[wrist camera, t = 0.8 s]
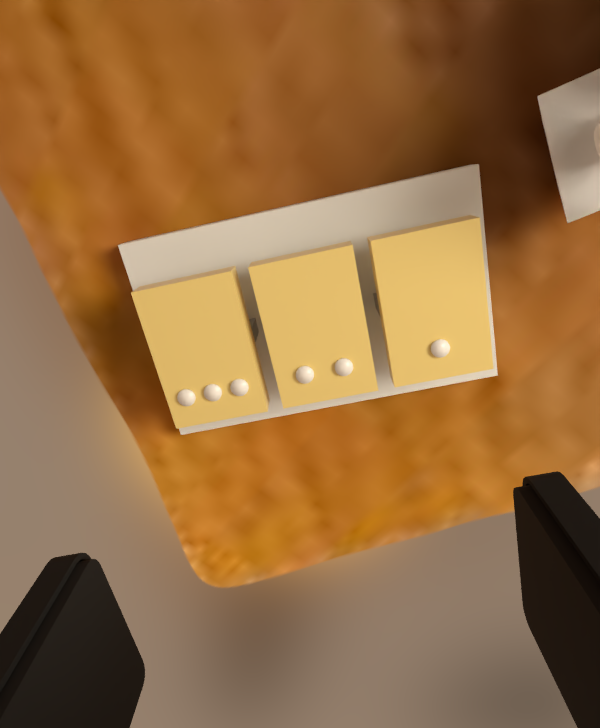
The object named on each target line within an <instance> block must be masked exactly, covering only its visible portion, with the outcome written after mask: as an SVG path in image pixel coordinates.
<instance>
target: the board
mask: <svg viewBox="0 0 600 728" xmlns="http://www.w3.org/2000/svg"><path fill="white" fill-rule="evenodd" d="M467 215H473V216H476V217H480V225H481V236H482V247H483V258H484V269H485V280H486V291H487V302H488V313H489V324H490V335H491V345H492V356H493V367H494V369H490V370H485V371H480V372H474V373H469V374H464V375H458V376H453V377H448V378H443V379H437V380H432V381H427V382H421V383H416V384H411V385H406V386H400V387H394V385H393V382H392V380H391V377H390V372H389V366H388V360H387V354H386V348H385V342H384V336H383V330H382V324H381V318H380V312H379V306H378V300H377V294H376V288H375V282H374V276H373V270H372V264H371V258H370V252H369V246H368V240H367V237H370V236H375V235H379V234H384V233H388V232H393V231H398V230H402V229H407V228H412V227H416V226H421V225H425V224H430V223H435V222H439V221H444V220H449V219H453V218H458V217H462V216H467ZM347 241H351V243H352V245H353V250H354V255H355V261H356V266H357V272H358V278H359V283H360V289H361V295H362V300H363V306H364V312H365V317H366V323H367V329H368V334H369V340H370V346H371V351H372V357H373V362H374V368H375V374H376V379H377V385H378V391H374V392H368V393H363V394H358V395H353V396H347V397H342V398H337V399H331V400H326V401H321V402H316V403H310V404H305V405H300V406H294V407H289V408H284V409H283V405H282V401H281V397H280V393H279V389H278V385H277V381H276V377H275V373H274V369H273V365H272V361H271V357H270V353H269V349H268V345H267V341H266V337H265V333H264V329H263V325H262V321H261V317H260V313H259V309H258V305H257V301H256V297H255V293H254V289H253V285H252V281H251V277H250V273H249V269H248V267H249V265H250V264H251V262H255V261H259V260H264V259H268V258H273V257H278V256H282V255H287V254H291V253H296V252H301V251H305V250H310V249H315V248H319V247H324V246H328V245H333V244H338V243H342V242H347ZM118 247H119V250H120V253H121V256H122V259H123V262H124V265H125V268H126V271H127V274H128V277H129V280H130V283H131V286H132V289H133V291H134V290H135V289H137V288H138V287H140V286H144V285H148V284H153V283H158V282H162V281H167V280H171V279H176V278H181V277H185V276H190V275H194V274H199V273H204V272H208V271H213V270H218V269H222V268H227V267H231V266H235V267H236V271H237V274H238V278H239V282H240V286H241V290H242V294H243V298H244V301H245V305H246V309H247V313H248V317H249V321H250V325H251V329H252V332H253V336H254V340H255V344H256V348H257V352H258V356H259V359H260V363H261V367H262V371H263V375H264V379H265V383H266V387H267V390H268V394H269V398H270V402H269V408H268V412H263V413H257V414H252V415H247V416H242V417H236V418H231V419H226V420H220V421H215V422H210V423H205V424H199V425H194V426H189V427H183V428H179V430H180V433H181V435H183V434H188V433H194V432H199V431H204V430H209V429H215V428H220V427H225V426H231V425H236V424H241V423H247V422H252V421H257V420H263V419H268V418H273V417H279V416H284V415H289V414H295V413H300V412H305V411H311V410H316V409H321V408H327V407H332V406H337V405H343V404H348V403H353V402H359V401H364V400H369V399H375V398H380V397H385V396H391V395H396V394H401V393H406V392H412V391H417V390H422V389H428V388H433V387H438V386H444V385H449V384H454V383H460V382H465V381H470V380H476V379H481V378H486V377H492V376H497V375H498V374H497V363H496V352H495V340H494V329H493V318H492V307H491V295H490V284H489V273H488V261H487V250H486V239H485V228H484V216H483V205H482V194H481V182H480V171H479V164H471V165H466V166H462V167H457V168H453V169H449V170H444V171H440V172H435V173H431V174H426V175H422V176H417V177H413V178H409V179H404V180H400V181H395V182H391V183H386V184H382V185H377V186H373V187H369V188H364V189H360V190H355V191H351V192H346V193H342V194H338V195H333V196H329V197H324V198H320V199H315V200H311V201H306V202H302V203H298V204H293V205H289V206H284V207H280V208H275V209H271V210H266V211H262V212H258V213H253V214H249V215H244V216H240V217H235V218H231V219H226V220H222V221H218V222H213V223H209V224H204V225H200V226H195V227H191V228H186V229H182V230H178V231H173V232H169V233H164V234H160V235H155V236H151V237H147V238H142V239H138V240H133V241H129V242H125V243H122V244H120V245H118Z"/></svg>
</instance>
